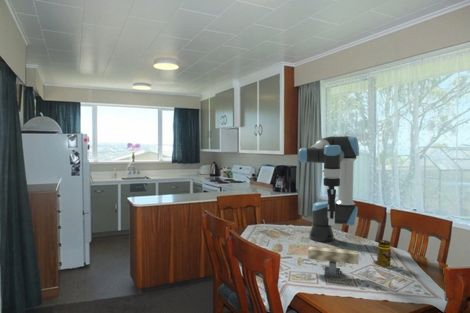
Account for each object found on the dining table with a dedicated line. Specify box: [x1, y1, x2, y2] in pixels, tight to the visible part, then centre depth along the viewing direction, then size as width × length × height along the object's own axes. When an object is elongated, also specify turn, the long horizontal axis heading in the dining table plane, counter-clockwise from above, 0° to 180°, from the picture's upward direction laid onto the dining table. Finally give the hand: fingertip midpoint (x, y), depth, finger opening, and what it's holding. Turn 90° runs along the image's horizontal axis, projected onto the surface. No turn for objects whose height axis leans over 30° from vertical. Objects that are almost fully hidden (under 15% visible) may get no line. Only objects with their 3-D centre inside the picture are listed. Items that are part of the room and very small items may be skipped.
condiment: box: [371, 239, 393, 269], centre depth 161 cm, size 7×8×12 cm
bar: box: [307, 245, 360, 265], centre depth 150 cm, size 22×4×4 cm, turn 73°
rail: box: [324, 261, 342, 279], centre depth 150 cm, size 10×7×6 cm
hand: (330, 221), depth 155 cm, fingers open, 13 cm apart
